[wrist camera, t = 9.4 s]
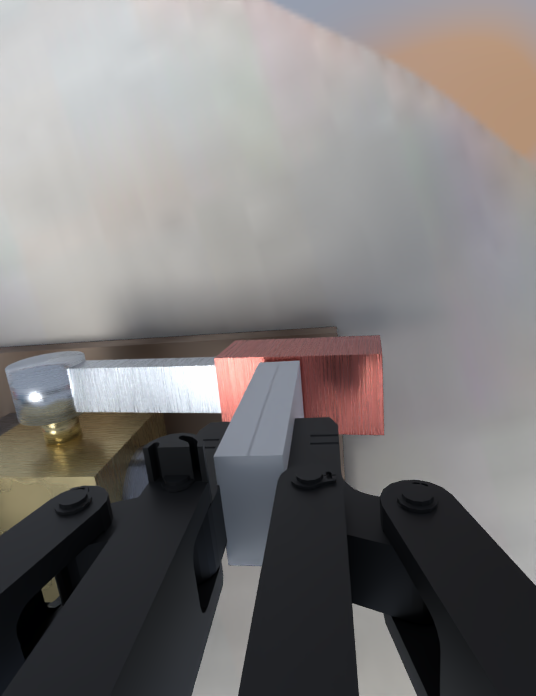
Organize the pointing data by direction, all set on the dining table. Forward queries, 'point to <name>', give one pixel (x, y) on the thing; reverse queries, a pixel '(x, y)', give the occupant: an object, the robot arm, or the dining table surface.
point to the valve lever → (205, 382)
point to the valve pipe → (72, 461)
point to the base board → (154, 349)
